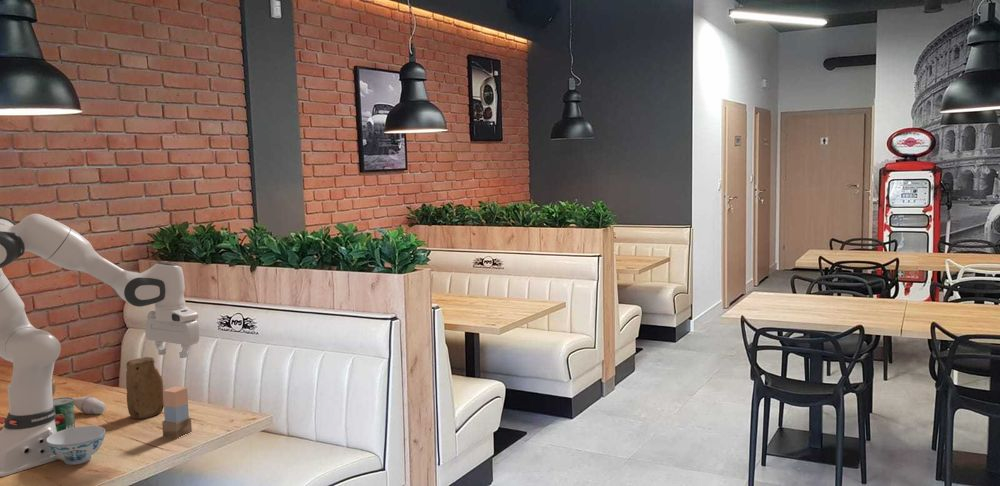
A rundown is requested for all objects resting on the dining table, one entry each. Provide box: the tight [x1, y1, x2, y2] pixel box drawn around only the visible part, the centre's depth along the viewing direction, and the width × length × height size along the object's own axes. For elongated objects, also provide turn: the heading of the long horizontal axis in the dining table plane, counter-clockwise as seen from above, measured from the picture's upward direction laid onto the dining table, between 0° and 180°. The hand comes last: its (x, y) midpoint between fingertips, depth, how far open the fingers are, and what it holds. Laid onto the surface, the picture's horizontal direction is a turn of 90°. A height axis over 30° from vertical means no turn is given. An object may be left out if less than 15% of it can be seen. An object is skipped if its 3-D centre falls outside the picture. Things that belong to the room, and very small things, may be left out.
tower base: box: [161, 417, 193, 440], centre depth 237 cm, size 6×6×5 cm
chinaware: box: [46, 425, 106, 466], centre depth 217 cm, size 15×15×8 cm
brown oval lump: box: [125, 356, 164, 420], centre depth 255 cm, size 11×8×20 cm
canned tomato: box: [53, 396, 76, 432], centre depth 238 cm, size 8×8×11 cm
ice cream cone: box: [73, 395, 106, 415], centre depth 259 cm, size 6×6×15 cm
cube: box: [163, 385, 189, 408], centre depth 236 cm, size 5×5×5 cm
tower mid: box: [163, 402, 190, 423], centre depth 237 cm, size 5×5×5 cm
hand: (172, 356), depth 235 cm, fingers open, 8 cm apart
